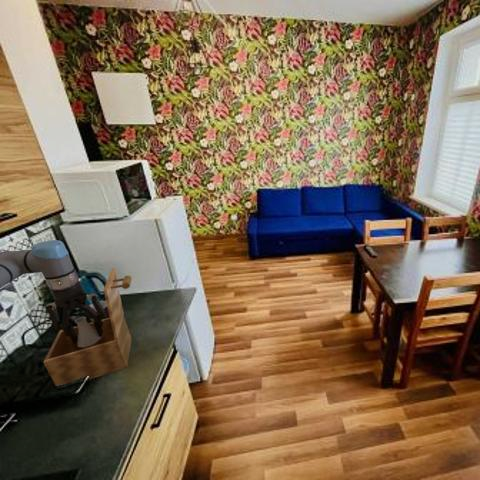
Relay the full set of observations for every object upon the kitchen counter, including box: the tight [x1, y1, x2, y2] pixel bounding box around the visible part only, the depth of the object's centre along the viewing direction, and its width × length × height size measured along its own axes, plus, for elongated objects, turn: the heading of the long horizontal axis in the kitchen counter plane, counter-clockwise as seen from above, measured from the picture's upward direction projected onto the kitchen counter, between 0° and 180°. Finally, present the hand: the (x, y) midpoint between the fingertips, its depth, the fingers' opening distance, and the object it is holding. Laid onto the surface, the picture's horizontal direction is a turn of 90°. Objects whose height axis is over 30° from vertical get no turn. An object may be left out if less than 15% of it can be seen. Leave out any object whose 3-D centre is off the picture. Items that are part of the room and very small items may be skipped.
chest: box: [42, 315, 132, 387], centre depth 101 cm, size 20×17×13 cm
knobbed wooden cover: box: [103, 267, 132, 340], centre depth 100 cm, size 21×17×6 cm
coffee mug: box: [83, 300, 110, 323], centre depth 121 cm, size 12×9×10 cm
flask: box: [74, 315, 101, 348], centre depth 97 cm, size 7×7×10 cm
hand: (88, 337), depth 99 cm, fingers closed on flask, 7 cm apart
